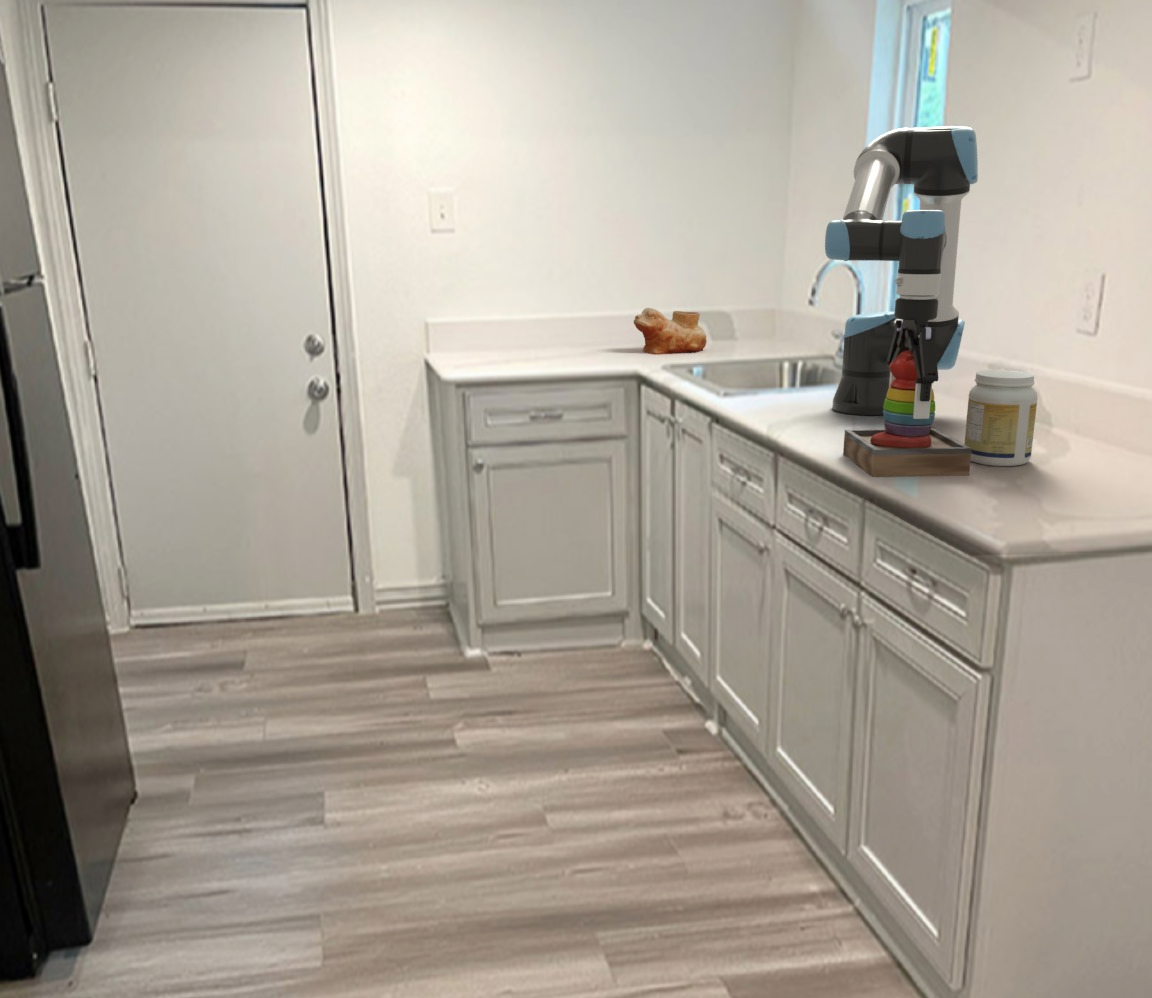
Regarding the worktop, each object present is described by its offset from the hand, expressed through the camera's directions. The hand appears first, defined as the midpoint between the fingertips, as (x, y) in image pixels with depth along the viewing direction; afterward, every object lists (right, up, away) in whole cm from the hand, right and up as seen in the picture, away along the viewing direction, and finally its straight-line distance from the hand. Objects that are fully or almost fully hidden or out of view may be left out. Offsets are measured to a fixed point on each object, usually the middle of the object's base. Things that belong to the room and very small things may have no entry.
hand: (907, 411), depth 197 cm
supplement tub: (+19, -9, +6) cm, 22 cm away
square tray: (0, -10, +3) cm, 10 cm away
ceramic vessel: (-31, +34, +161) cm, 167 cm away
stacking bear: (0, -6, +2) cm, 6 cm away
